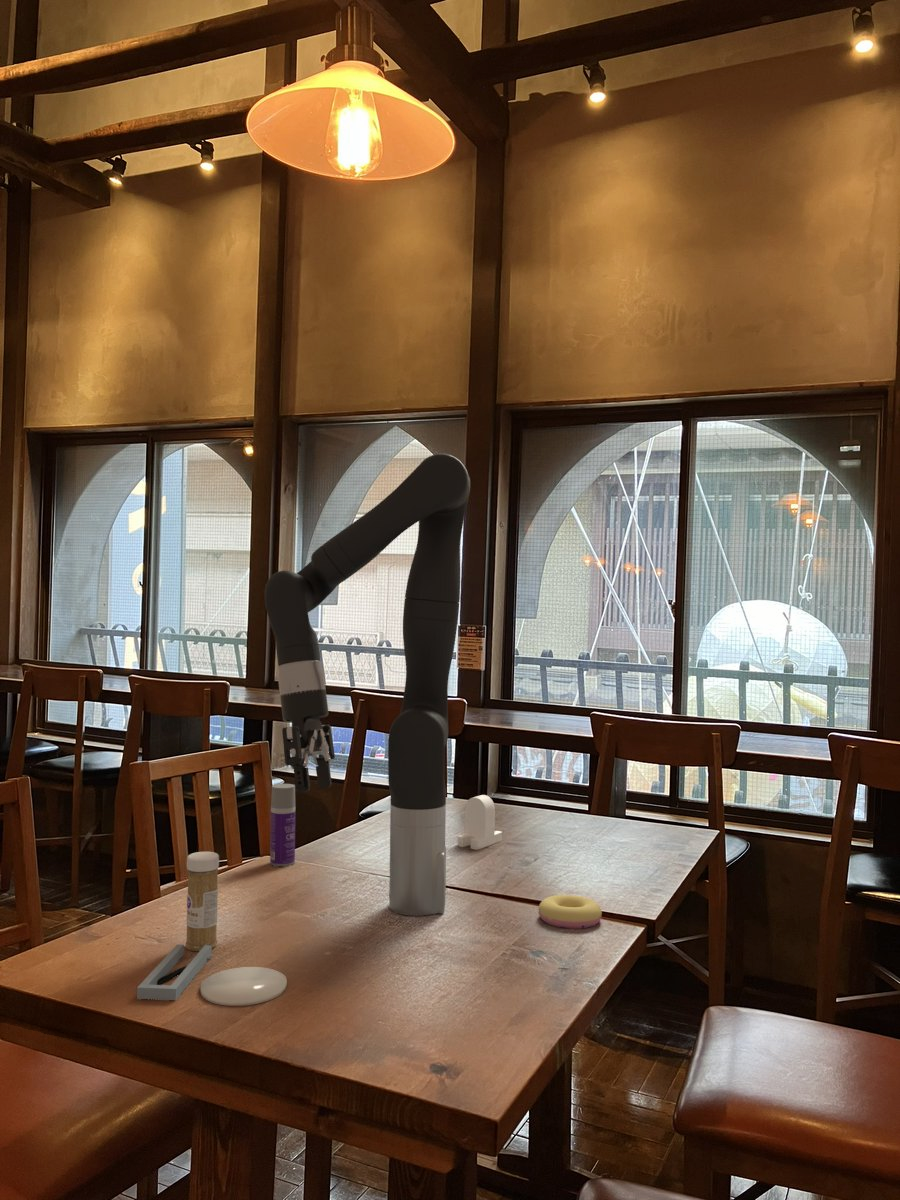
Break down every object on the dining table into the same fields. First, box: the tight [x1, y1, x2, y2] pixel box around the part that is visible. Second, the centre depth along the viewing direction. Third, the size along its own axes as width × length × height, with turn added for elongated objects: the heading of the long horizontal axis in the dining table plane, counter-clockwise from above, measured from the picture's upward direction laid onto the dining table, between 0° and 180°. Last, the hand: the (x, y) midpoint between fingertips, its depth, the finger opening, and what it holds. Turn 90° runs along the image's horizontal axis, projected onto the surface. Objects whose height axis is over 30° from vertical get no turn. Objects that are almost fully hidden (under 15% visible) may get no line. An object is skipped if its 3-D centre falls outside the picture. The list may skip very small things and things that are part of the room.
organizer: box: [457, 794, 503, 850], centre depth 198 cm, size 5×10×10 cm, turn 144°
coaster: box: [200, 966, 288, 1007], centre depth 122 cm, size 11×11×1 cm
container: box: [269, 783, 296, 867], centre depth 180 cm, size 5×5×15 cm
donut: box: [538, 894, 603, 930], centre depth 150 cm, size 10×5×9 cm
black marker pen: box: [157, 955, 213, 985], centre depth 126 cm, size 12×1×1 cm, turn 154°
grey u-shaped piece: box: [136, 943, 213, 1001], centre depth 125 cm, size 5×15×2 cm, turn 177°
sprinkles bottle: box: [185, 851, 220, 952], centre depth 137 cm, size 5×5×13 cm
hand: (314, 789), depth 152 cm, fingers open, 8 cm apart
